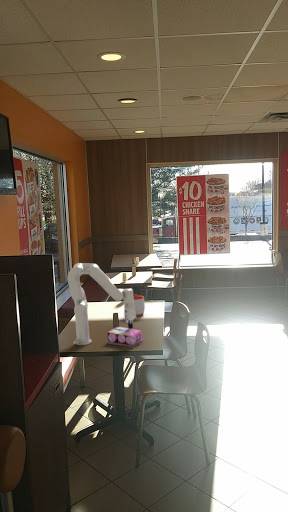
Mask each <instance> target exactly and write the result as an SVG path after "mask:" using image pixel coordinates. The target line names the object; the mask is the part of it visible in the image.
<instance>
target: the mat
mask: <svg viewBox="0 0 288 512" xmlns="http://www.w3.org/2000/svg"><path fill="white" fill-rule="evenodd" d="M144 341H145V340H144V339H142V341H140V342H138V343H136V344H134V345H132V346H129V345H124V344H119V343H113V342H108V341H107V344H109V345H117V346H123V347H125V346H126V347H131V348H135V347H137V346H138V345H139V344H141V343H143V342H144Z"/></svg>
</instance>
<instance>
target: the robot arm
mask: <svg viewBox="0 0 288 512" xmlns="http://www.w3.org/2000/svg"><path fill="white" fill-rule="evenodd" d="M82 275H89V276H90V277H91V278H92V279H93V280H94V281H96V282H97V284H98V285H100V287H101V288H102V289H103V290H104V291H105V292H106V293H107V294H108V295H109V296H110V297H111V298H112V299H113V300H114V301H116V302H121V301H122V300H123V307H124V308H123V310H124V311H123V316H124V321H125V323H127V326H128V327H127V328H129V329H133V328H134V325H133V324H134V323H133V322H134V319H136V313H135V307H134V298H133V296H134V290H133V288H118V287H117V286H115V285H114V284H115V283H113V282H112V280H111V279H110V277H109V276H108V275H107V274H106V273H104V271H103V270H102V269H101V268H100V266H99V265H98V264H97V263H88V262H87V263H85V262H84V263H83V262H77V263H75V264H74V265H73V267H72V268H71V269H70V270H69V272H68V274H67V282H68V283H67V284H68V287H69V291H70V295H71V296H70V297H71V299H72V300H73V302H74V308H73V309H74V310H73V311H74V321H75V333H76V338H75V340H74V341H73V344H75V345H77V346H86V345H90V344H91V343H92V342H93V341H92V339H91V338H90V327H89V315H88V314H89V313H88V307H89V306H88V305H89V304H88V301H87V297H86V293H85V290H84V288H83V287H82V286H81V281H80V277H81V276H82Z"/></svg>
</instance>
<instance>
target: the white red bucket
mask: <svg viewBox="0 0 288 512" xmlns="http://www.w3.org/2000/svg"><path fill="white" fill-rule="evenodd" d="M133 298H134V307H135V313H136V317H142V316H143V315H144V314H145V307H146V306H145V305H146V304H145V296H144V295H138V294H137V293H135V294H133Z"/></svg>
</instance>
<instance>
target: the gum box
mask: <svg viewBox="0 0 288 512" xmlns="http://www.w3.org/2000/svg"><path fill="white" fill-rule="evenodd" d="M106 334H107V335H106V336H107V343H108V342H113V343H119V344H124V345H129V346H132V345H134V344H136V343H138V342H140V341H142V340H143V331H142V330H141V329H135V328H134V329H133V328H132V329H129V328H128V327H123V326H117V327H115V328H113V329H110V330H109V331H107V333H106ZM142 342H143V341H142ZM129 346H128V347H129Z"/></svg>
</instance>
